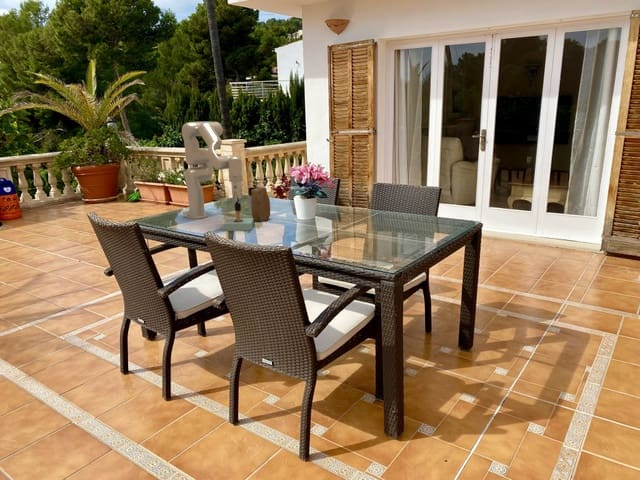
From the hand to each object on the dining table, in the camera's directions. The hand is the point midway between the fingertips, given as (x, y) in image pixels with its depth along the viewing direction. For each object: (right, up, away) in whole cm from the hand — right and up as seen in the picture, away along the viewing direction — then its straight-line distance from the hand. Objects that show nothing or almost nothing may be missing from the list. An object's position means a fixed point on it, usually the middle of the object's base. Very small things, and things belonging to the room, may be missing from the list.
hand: (237, 210), depth 284 cm
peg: (0, -10, +3) cm, 10 cm away
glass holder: (+6, +3, +49) cm, 50 cm away
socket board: (0, -10, +3) cm, 10 cm away
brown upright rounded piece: (+11, -5, +21) cm, 24 cm away
